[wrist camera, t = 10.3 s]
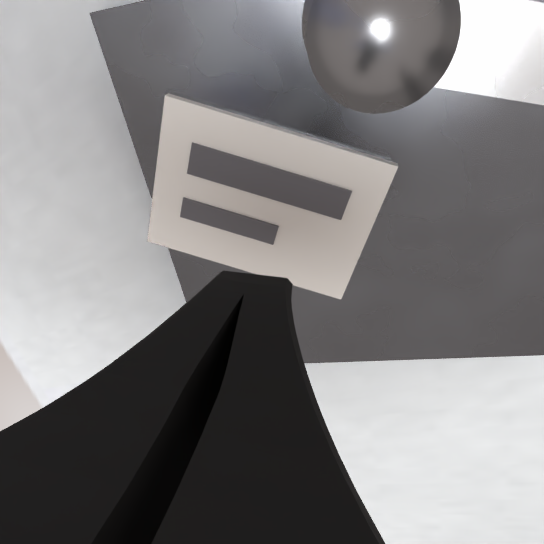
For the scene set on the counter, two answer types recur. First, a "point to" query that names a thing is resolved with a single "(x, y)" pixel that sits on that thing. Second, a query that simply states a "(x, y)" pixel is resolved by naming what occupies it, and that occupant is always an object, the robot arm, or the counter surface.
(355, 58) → the swing arm
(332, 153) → the label plate
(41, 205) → the counter surface
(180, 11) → the tray
